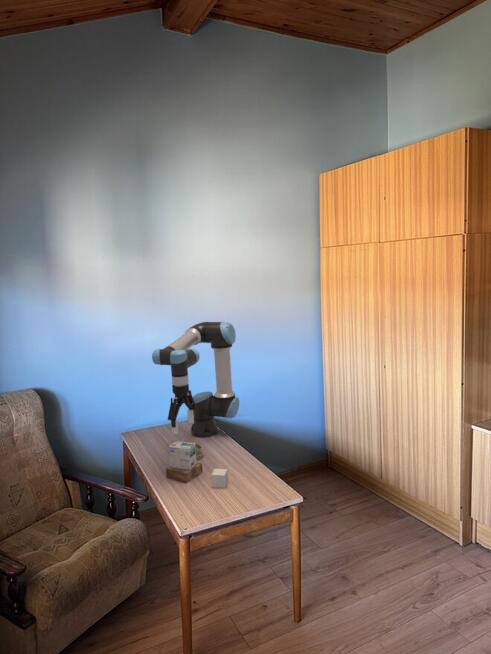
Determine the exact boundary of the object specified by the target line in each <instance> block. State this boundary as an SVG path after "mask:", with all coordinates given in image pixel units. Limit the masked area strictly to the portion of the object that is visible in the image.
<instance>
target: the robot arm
mask: <svg viewBox="0 0 491 654" xmlns="http://www.w3.org/2000/svg"><path fill="white" fill-rule="evenodd" d="M236 334H237V333H236V330H235V327H234V325H233V324H232V323H231V322H228V321H227V322H225V321H202V322H199V323H196V324H194V325H193V326H190V327H189V328H188V329H186V330H185V332H184V333H183V334H182V335H181V336H179V337H178V338H176V339H175V340H174V341H173V342H171V343H170V344H168V345H166V347H164V348H162V349H161V348H158V349H157V348H156V349H154V350H153V351H152V353H151V360H152V362H153V364H155V365H159V366H170V371H171V384H172V386H171V387H172V393H173V395H174V397H171V398H170V404H169V410H168V416H167V421H170V424H171V425H170V426H171V433H172V434H174V435H178V434H179V428H178V427H179V426H178V419H177V417H178V415H179V411H180V409H181V407H182V405H185V406H186V407H187V422H188V424H192V426H191V429H190V434H191V435H192V436H193V437H196V438H208V437H212V436H214V435H216V434H218V431H219V430H218V426H217V423H216V420H215V418H217V417H218V418H226V419H227V418H228V419H232V418H235V417H236V416H237V414H238V411H239V407H240V398H239V397H238V396H236V392H235V391H234V390H233V383H232V382H233V381H232V369H231V368H232V367H231V366H232V365H231V352H230V351H231V348H232V347H233V344H234V343H235V341H236V336H237V335H236ZM199 344H210V348H211V349H212V350H213V354H214V357H213V358H214V370H215V371H214V372H215V383H216V384H215V385H216V392H215V393H214V394H213V391H202V392H198V393H196V394H194V395H193V394H192V390H190V385H189V381H190V380H189V370H188V369H189V368H191V367H192V366H194V365H196V364H197V363H198V362H199V361H200V357H201V355H200V352H199V351H198V350H197V349H196V348H191V347H193V346H196V345H199Z"/></svg>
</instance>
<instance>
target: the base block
mask: <svg viewBox="0 0 491 654" xmlns="http://www.w3.org/2000/svg"><path fill="white" fill-rule="evenodd" d="M196 463H197V464H196V465H195V466H194V467H193V468H192V469H191V470H186V469H178V468H171V465H169V466H167V467H166V468H165V471H166V472H165V476H166V478H167V479H170V480H174V481H177V482H180V483H184V484H188V483H189V482H191V481H192V480H195V478H197V477H199V476H200V475H201V474H203V463H201V462H197V461H196Z"/></svg>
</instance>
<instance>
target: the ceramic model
mask: <svg viewBox="0 0 491 654" xmlns="http://www.w3.org/2000/svg"><path fill="white" fill-rule="evenodd" d="M184 442H187V443H195V449H196V461H199V460H201V459H203V458H204V452H203V451H202V445H201V444H200V443H199V442H198V441H197V440H196V439H195V436H193V435H192V436H188V437H187V438H186V439H185V440H184Z"/></svg>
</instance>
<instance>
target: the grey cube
mask: <svg viewBox="0 0 491 654" xmlns="http://www.w3.org/2000/svg"><path fill="white" fill-rule="evenodd" d="M228 476H229V475H228V468H214V469H213V471H212V473H211V476H210V479H211V488H216V489H217V488H218V489H226V487H227V485H228V483H229V477H228Z"/></svg>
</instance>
